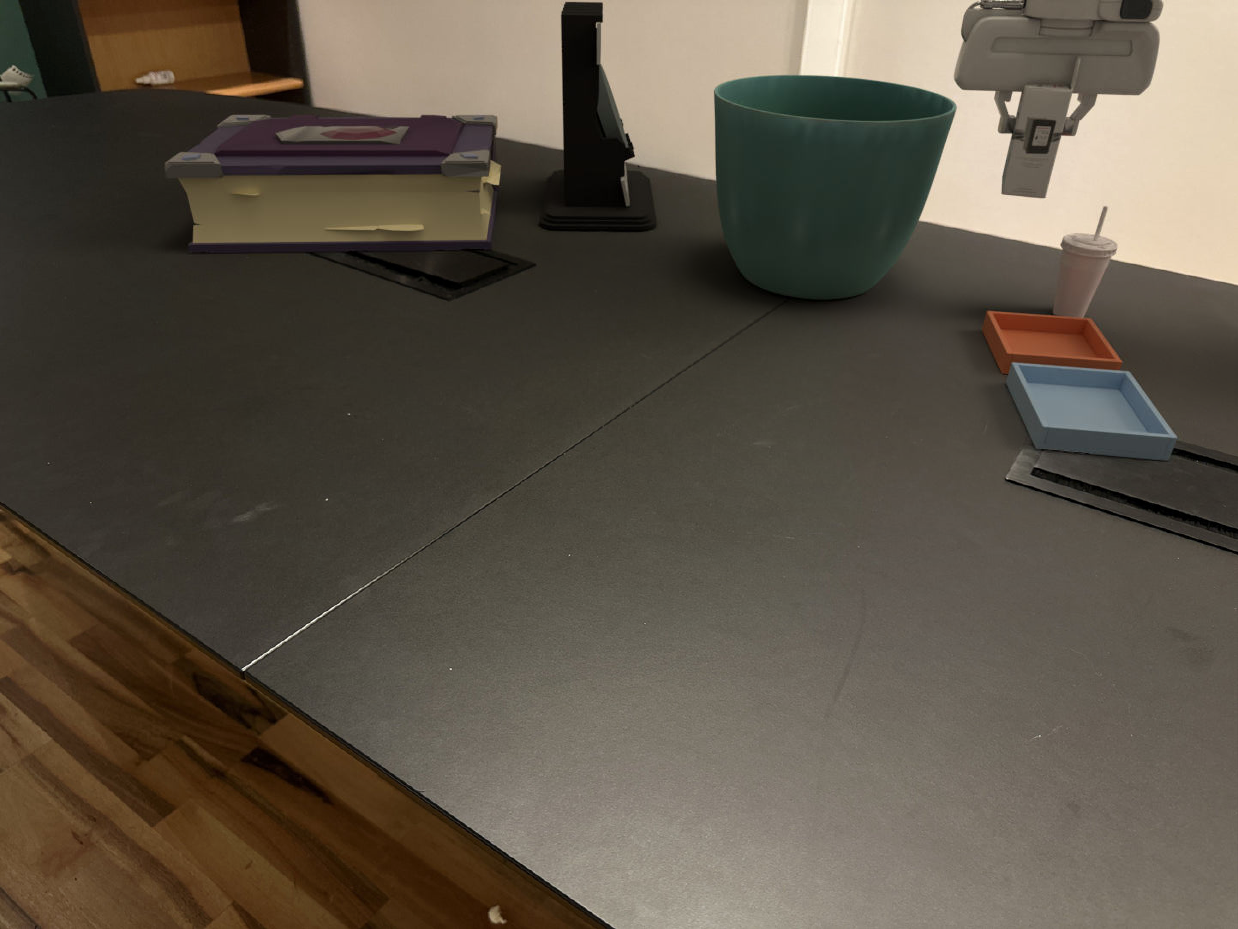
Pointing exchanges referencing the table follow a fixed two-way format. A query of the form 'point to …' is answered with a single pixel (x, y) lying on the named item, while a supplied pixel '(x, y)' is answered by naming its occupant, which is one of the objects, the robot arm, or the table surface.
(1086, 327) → the terracotta tray
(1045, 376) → the blue tray
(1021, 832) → the table surface
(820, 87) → the flower pot
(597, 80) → the award
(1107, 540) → the table surface
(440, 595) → the table surface
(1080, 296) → the smoothie
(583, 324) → the table surface
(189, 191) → the book
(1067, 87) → the ink box
